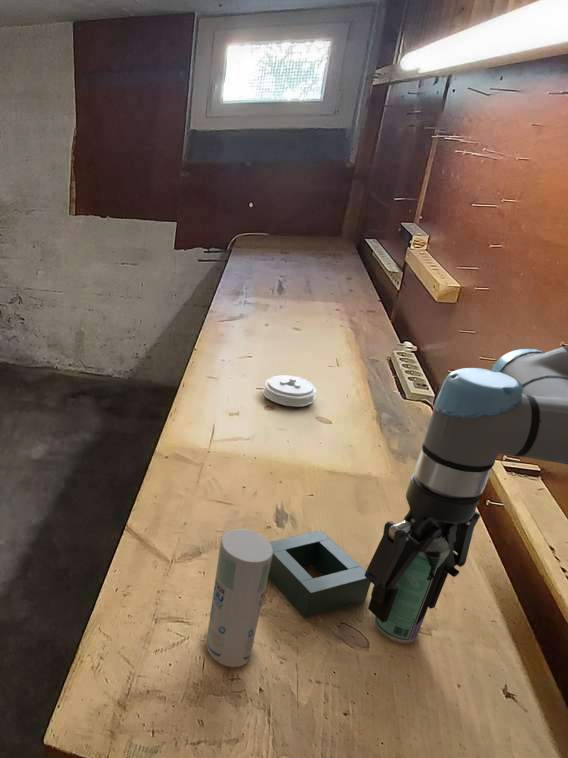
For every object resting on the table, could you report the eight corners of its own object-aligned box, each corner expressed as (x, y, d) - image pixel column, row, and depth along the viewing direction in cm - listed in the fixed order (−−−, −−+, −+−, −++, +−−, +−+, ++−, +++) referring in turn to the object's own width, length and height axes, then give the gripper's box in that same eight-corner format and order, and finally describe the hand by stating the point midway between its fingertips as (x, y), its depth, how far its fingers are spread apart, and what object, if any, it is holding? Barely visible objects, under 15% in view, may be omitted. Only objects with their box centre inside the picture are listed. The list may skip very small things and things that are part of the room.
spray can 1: (255, 671, 80) (278, 565, 71) (207, 665, 81) (224, 560, 72) (247, 633, 85) (267, 530, 76) (203, 628, 86) (218, 526, 78)
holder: (364, 602, 90) (373, 576, 87) (304, 619, 87) (310, 593, 85) (314, 553, 100) (320, 529, 97) (258, 567, 97) (263, 543, 95)
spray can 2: (425, 640, 83) (467, 535, 74) (392, 646, 82) (430, 541, 74) (397, 611, 88) (434, 509, 79) (366, 616, 87) (399, 514, 78)
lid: (304, 388, 157) (307, 372, 155) (320, 409, 146) (324, 392, 143) (257, 387, 158) (260, 371, 156) (270, 409, 147) (273, 392, 145)
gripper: (480, 454, 79) (434, 574, 89) (358, 481, 74) (323, 605, 84) (536, 484, 72) (480, 610, 82) (406, 516, 68) (363, 646, 78)
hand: (401, 607), depth 83 cm, fingers open, 8 cm apart
